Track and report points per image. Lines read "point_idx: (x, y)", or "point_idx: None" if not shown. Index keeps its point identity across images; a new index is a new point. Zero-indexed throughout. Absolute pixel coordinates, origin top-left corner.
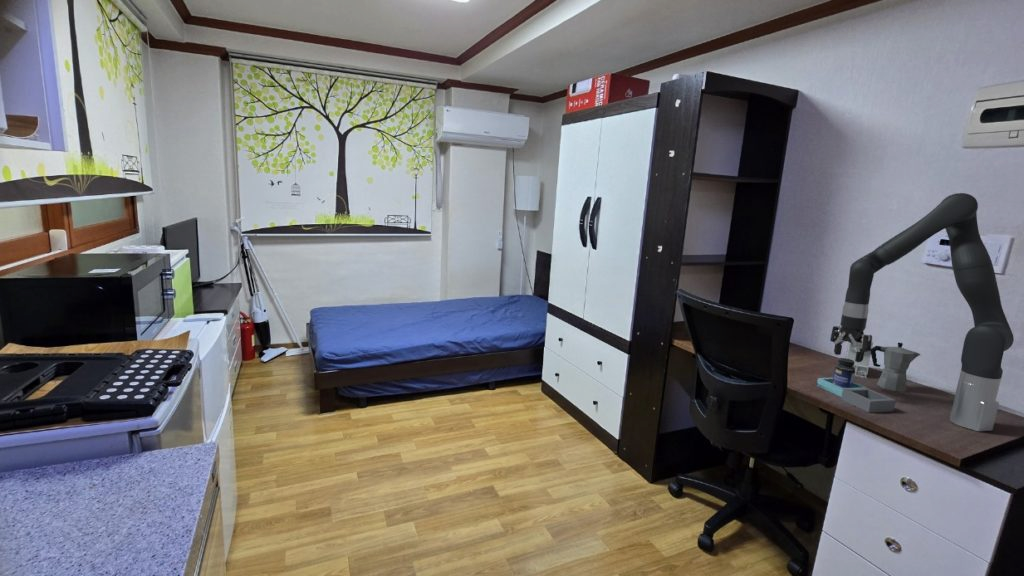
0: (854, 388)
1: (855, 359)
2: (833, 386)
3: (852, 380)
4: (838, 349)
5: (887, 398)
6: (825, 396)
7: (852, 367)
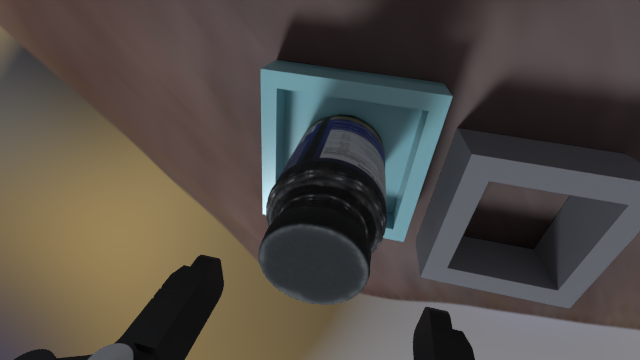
0: (416, 180)
1: (415, 356)
2: None
3: (384, 175)
4: (194, 323)
5: (624, 204)
6: (371, 258)
7: (365, 226)
